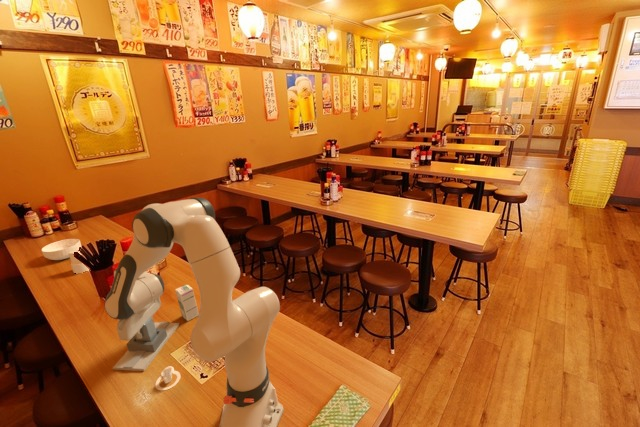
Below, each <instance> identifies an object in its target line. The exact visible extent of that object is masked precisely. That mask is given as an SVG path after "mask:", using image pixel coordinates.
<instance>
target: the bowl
mask: <svg viewBox="0 0 640 427" xmlns="http://www.w3.org/2000/svg"><path fill="white" fill-rule="evenodd" d="M79 247H81V248H82V243H81V240H80V239H78V238H67V239H61V240H58V241H55V242H51V243H49V244H47V245H45V246H43V247H42V248H41V250H40V251H41V252H42V255H43V256H44V258H46V259H48V260H51V261H52V260H53V261H62V260H66V259H70V257H69V254H68V253H69V252H71V251H78V250H79Z"/></svg>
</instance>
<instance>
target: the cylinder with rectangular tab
mask: <svg viewBox="0 0 640 427" xmlns="http://www.w3.org/2000/svg"><path fill="white" fill-rule="evenodd" d="M80 251H81V250H80ZM80 251H71V252H69V253H68V254H69V259H70V266H71V267H70V268H71V270H72V272H73V274H74V273H76V274H75V275H79V274H78V273H82V274H84V273H83V272H85V271H88V272H90V271H89V269H88V268H87V267H86V266H85V265H84V264H83V263H81V262H80V261H79V260H77V259H76V258H75V257H74V255H73V254H74V252H78V253H79V254H80V255H82V254H81V253H80Z"/></svg>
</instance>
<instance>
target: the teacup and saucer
mask: <svg viewBox="0 0 640 427" xmlns="http://www.w3.org/2000/svg"><path fill="white" fill-rule="evenodd" d="M173 375H176V379H175V381H174V382H173V383H172V384H171V385H169V386H167V387H162V386H161V385H160V382H161V380H163V382H164V384H169V383H171V381H172V380H173ZM180 380H181V373H180V371H178V370H175V368H174V366H172V365H170V366H166V367H164V369H163V370H162V371H161V373H160V376H159V377H158V378H157V379H156V381H155V384H154V386H155V389H156V390H158V391H168V390H170V389H172V388H174V387H176V385H177V384H178V383H180V382H179V381H180Z"/></svg>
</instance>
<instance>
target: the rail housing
mask: <svg viewBox="0 0 640 427" xmlns="http://www.w3.org/2000/svg"><path fill="white" fill-rule="evenodd" d="M154 325H155V328H156V332H157V336H156V337H155V338H154V339H153V340H152V342H140V341H136V338H135V335H134V336H133V337H132V339H131V340H128V342H127V343H126V346H127V351H126V352H125V353H124V354H123V355H122V356H121V357H120V359H119V360H118V361H117V362H116V363H115V364H114V365H113V366H112V370H114V371H115V370H116V371H134V372H145V371H146V369H148V367H149V366H150V364H151V363H152V362H153V360H154V359H155V358H156V357H157V355H158V354H159V353H160V351H161V350H162V348H163V347H164V346H165V344H166V343H167V342H168V340H169V339H170V338H171V337H172V336H173V334H174V333H175V331H176V330H177V329H178V327H179V326H180V322H170V321H161V322H157V321H155V322H154Z"/></svg>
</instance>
